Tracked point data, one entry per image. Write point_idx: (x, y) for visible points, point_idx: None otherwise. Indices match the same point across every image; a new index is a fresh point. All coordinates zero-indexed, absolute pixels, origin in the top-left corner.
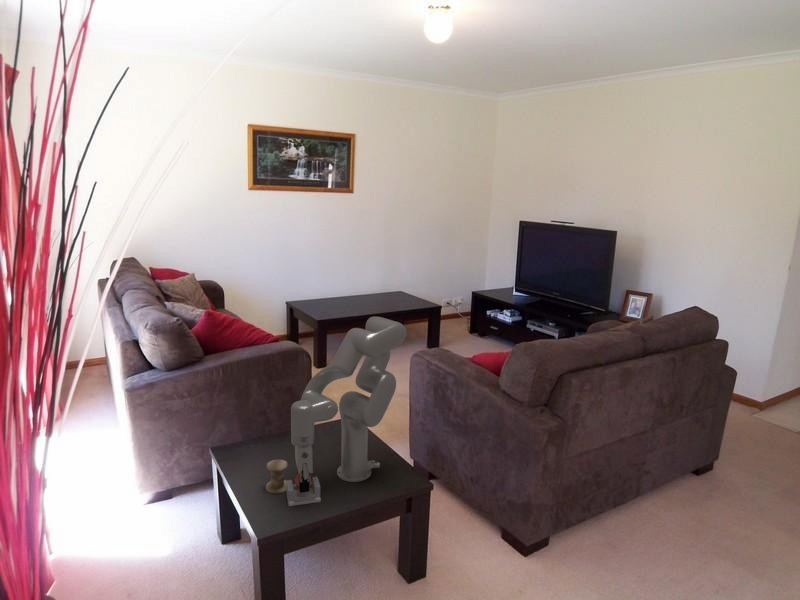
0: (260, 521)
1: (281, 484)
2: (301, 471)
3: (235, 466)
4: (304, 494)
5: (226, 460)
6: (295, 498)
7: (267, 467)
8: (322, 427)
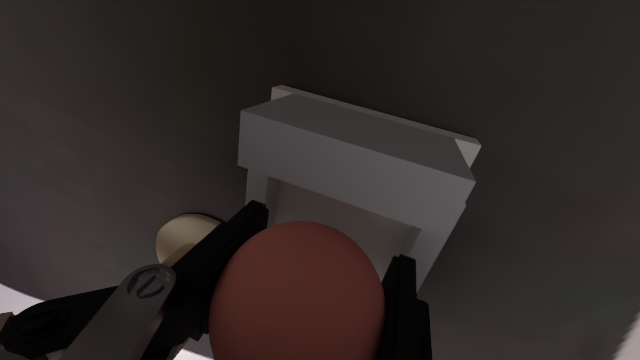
0: None
1: None
2: (188, 324)
3: (67, 290)
4: (345, 215)
5: (39, 290)
6: None
7: None
8: None
